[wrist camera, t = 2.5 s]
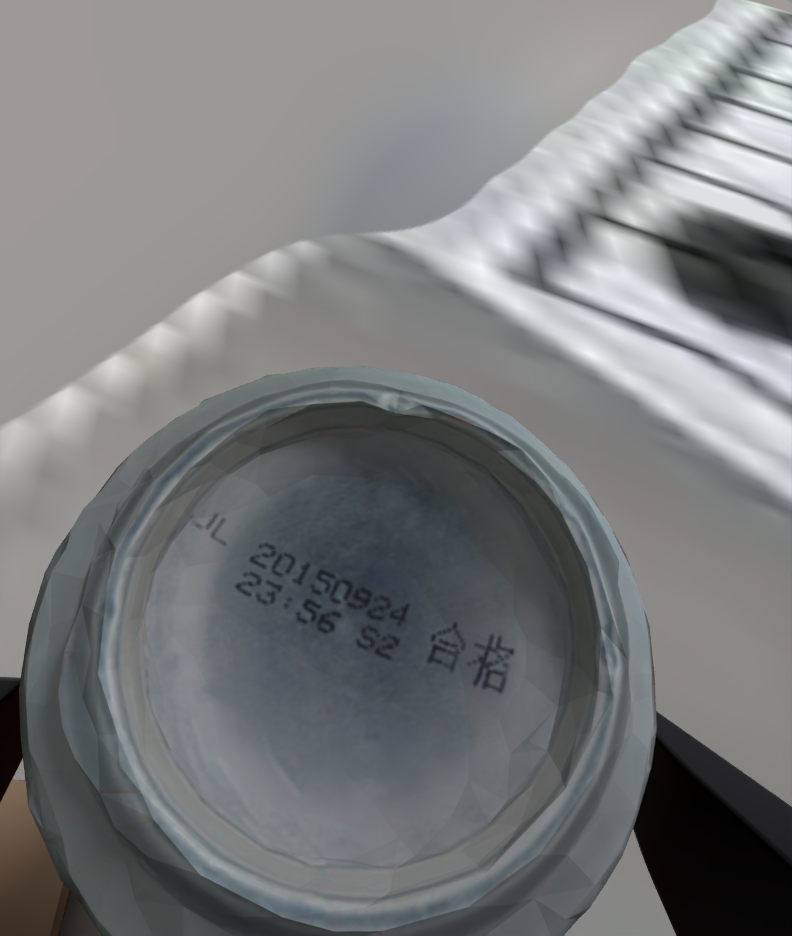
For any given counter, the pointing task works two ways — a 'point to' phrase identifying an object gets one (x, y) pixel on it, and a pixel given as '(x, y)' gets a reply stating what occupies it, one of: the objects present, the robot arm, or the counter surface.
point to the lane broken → (26, 872)
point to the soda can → (338, 674)
